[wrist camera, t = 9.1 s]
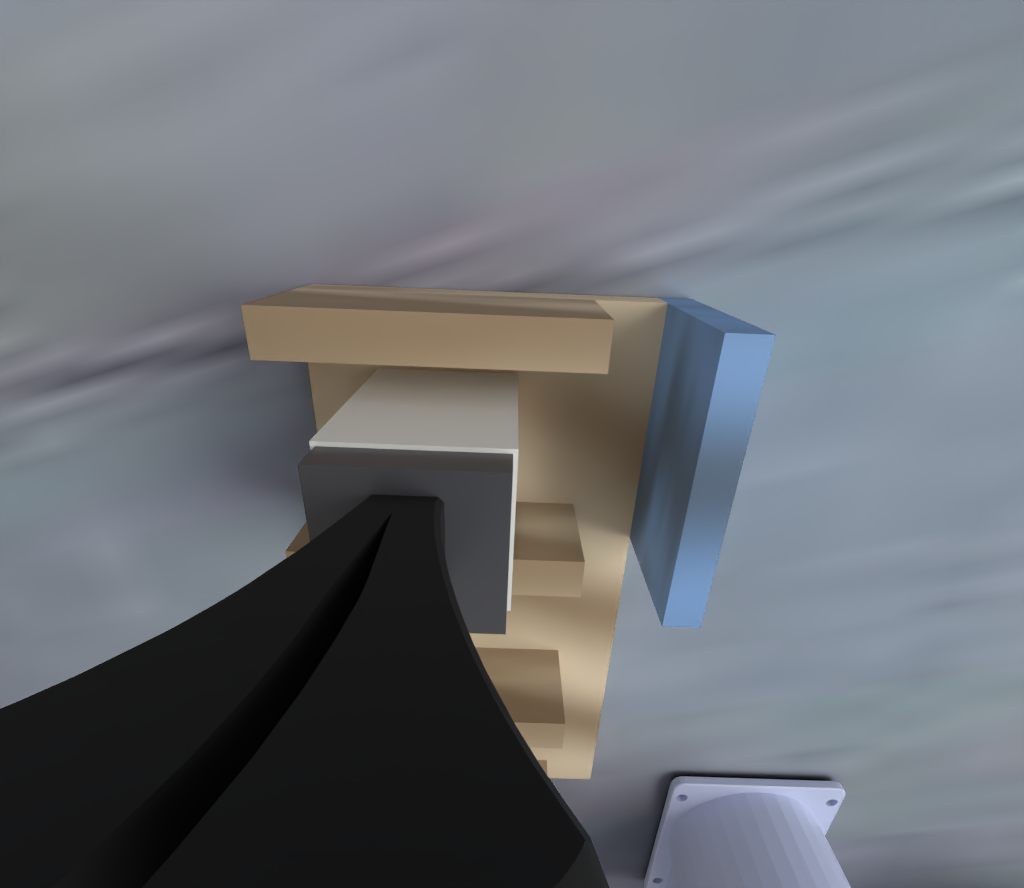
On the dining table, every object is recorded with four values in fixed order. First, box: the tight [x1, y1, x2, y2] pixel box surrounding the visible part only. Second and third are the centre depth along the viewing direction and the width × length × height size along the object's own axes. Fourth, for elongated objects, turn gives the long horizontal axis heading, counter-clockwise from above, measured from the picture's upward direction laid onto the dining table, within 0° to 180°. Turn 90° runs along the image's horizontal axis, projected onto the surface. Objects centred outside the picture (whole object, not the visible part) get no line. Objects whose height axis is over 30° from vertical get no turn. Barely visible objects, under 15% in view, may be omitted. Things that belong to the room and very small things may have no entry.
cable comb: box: [241, 284, 776, 779], centre depth 16 cm, size 20×11×5 cm, turn 178°
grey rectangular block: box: [298, 368, 519, 635], centre depth 12 cm, size 4×4×6 cm
